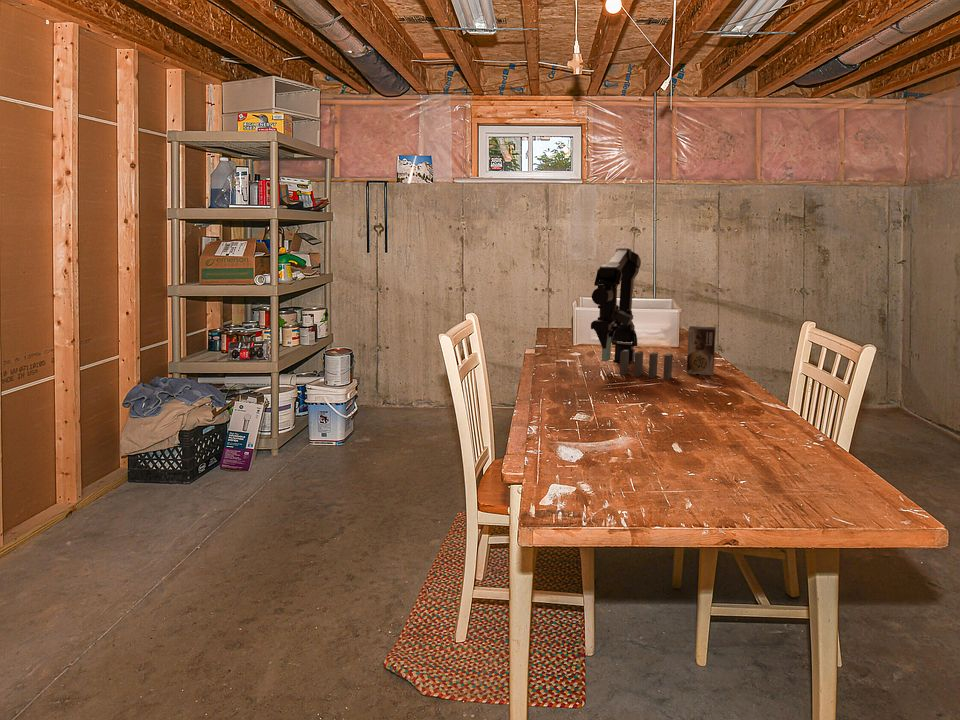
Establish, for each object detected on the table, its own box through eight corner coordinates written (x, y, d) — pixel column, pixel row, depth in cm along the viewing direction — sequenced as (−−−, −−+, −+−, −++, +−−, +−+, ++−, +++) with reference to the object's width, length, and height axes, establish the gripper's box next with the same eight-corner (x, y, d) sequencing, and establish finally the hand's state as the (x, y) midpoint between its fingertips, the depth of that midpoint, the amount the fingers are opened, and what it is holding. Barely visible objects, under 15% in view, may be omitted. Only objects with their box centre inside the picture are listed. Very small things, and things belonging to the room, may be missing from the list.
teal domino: (601, 361, 268) (602, 338, 266) (606, 358, 272) (606, 336, 271) (606, 361, 267) (607, 338, 266) (610, 359, 271) (611, 336, 270)
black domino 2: (619, 374, 265) (620, 351, 264) (623, 372, 270) (624, 349, 268) (624, 375, 265) (624, 352, 263) (628, 372, 269) (629, 350, 268)
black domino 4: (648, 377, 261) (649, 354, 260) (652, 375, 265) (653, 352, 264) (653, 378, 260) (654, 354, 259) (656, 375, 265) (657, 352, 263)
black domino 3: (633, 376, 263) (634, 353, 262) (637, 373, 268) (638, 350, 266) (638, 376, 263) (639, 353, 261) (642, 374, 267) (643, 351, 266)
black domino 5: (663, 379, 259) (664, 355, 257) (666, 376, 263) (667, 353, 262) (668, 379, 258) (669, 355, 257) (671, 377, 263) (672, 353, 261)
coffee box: (713, 372, 271) (716, 326, 268) (713, 376, 265) (716, 329, 262) (687, 370, 274) (689, 325, 271) (685, 374, 268) (688, 327, 265)
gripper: (623, 306, 254) (621, 353, 257) (638, 301, 271) (636, 345, 273) (590, 304, 259) (589, 350, 262) (607, 299, 276) (606, 343, 278)
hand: (606, 347), depth 269 cm, fingers closed on teal domino, 5 cm apart
